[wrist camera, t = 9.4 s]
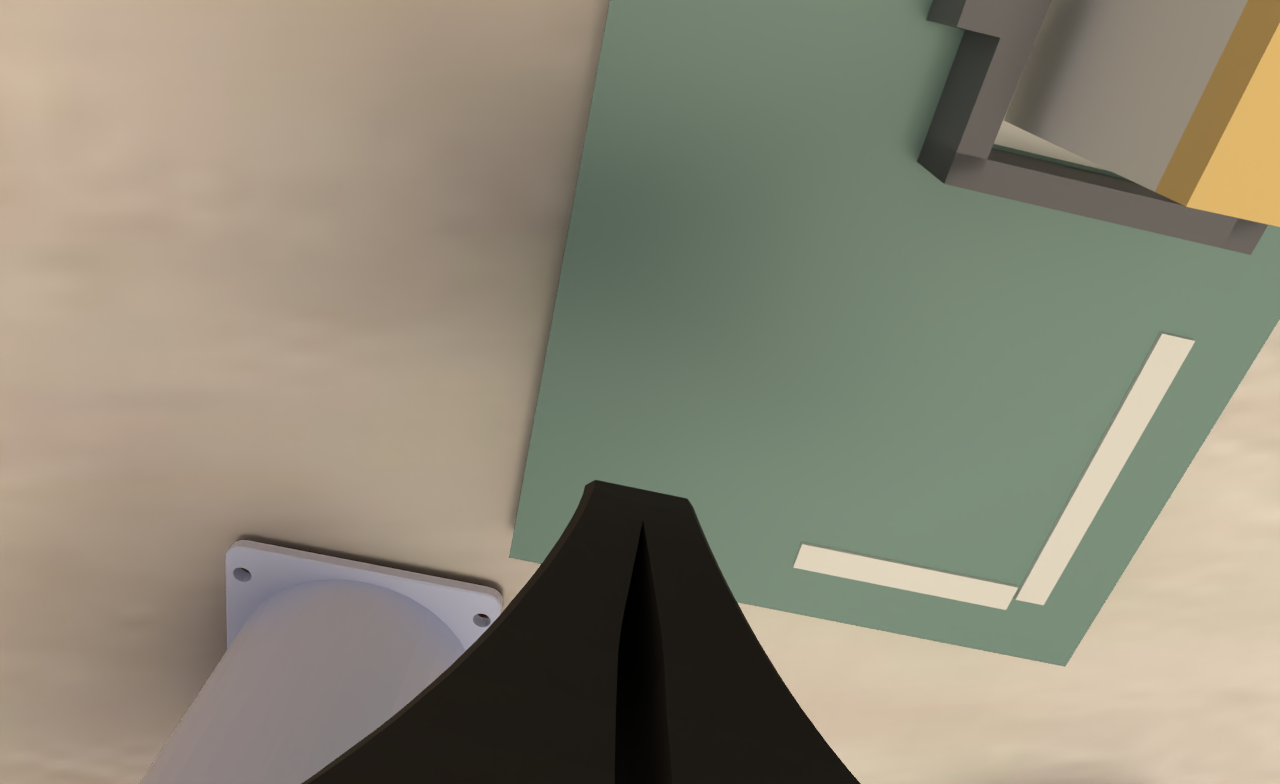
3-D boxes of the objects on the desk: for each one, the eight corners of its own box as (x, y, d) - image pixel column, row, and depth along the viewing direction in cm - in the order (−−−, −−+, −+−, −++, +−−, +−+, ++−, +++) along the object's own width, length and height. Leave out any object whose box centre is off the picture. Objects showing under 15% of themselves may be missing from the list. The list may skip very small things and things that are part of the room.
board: (1048, 636, 25) (1096, 723, 22) (516, 531, 24) (494, 607, 21) (1587, -276, 15) (1805, -334, 12) (709, -524, 14) (717, -651, 11)
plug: (1166, 156, 17) (1434, 260, 11) (1003, 120, 17) (1186, 206, 11) (1301, -124, 15) (1732, -185, 9) (1116, -169, 15) (1424, -263, 9)
